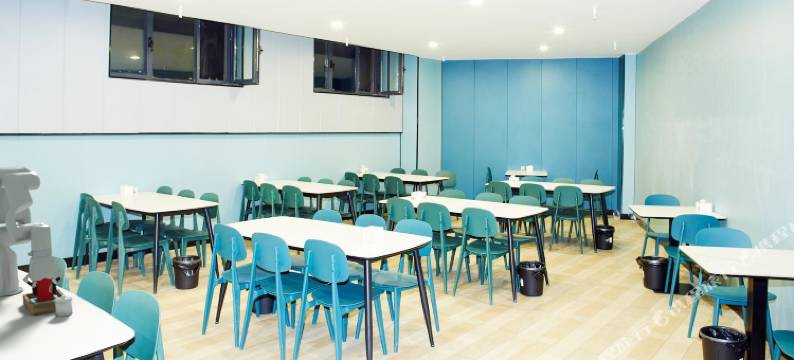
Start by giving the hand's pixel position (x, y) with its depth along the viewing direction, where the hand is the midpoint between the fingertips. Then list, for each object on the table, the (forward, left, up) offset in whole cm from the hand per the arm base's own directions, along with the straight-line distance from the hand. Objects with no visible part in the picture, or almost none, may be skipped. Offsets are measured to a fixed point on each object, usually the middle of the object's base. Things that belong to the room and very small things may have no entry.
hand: (44, 293), depth 258 cm
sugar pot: (+14, +11, -6) cm, 19 cm away
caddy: (0, 0, -6) cm, 6 cm away
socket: (0, 0, -6) cm, 6 cm away
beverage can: (0, 0, -4) cm, 4 cm away
